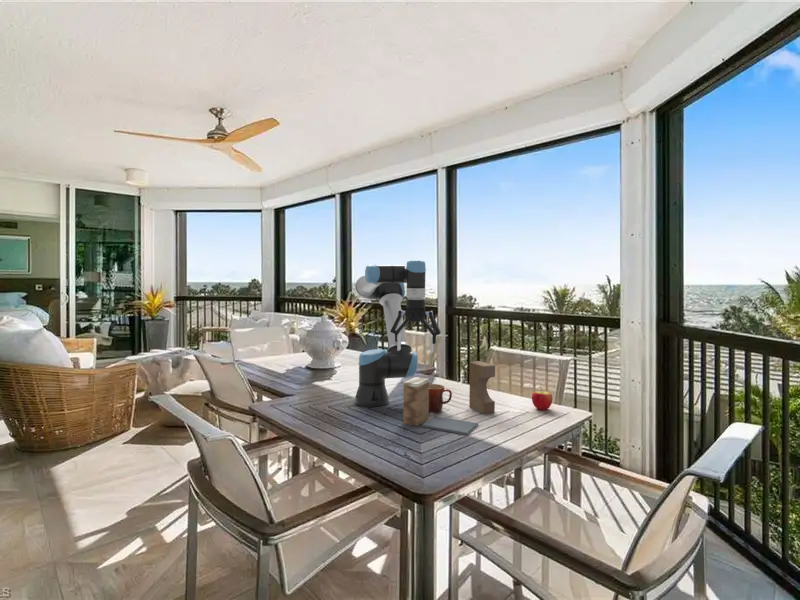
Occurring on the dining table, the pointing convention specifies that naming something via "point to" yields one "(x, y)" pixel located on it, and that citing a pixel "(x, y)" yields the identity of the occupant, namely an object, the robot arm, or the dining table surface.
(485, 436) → the dining table surface
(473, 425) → the mat
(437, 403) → the mug
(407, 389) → the brown and cream block
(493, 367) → the decorative block
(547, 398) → the apple
